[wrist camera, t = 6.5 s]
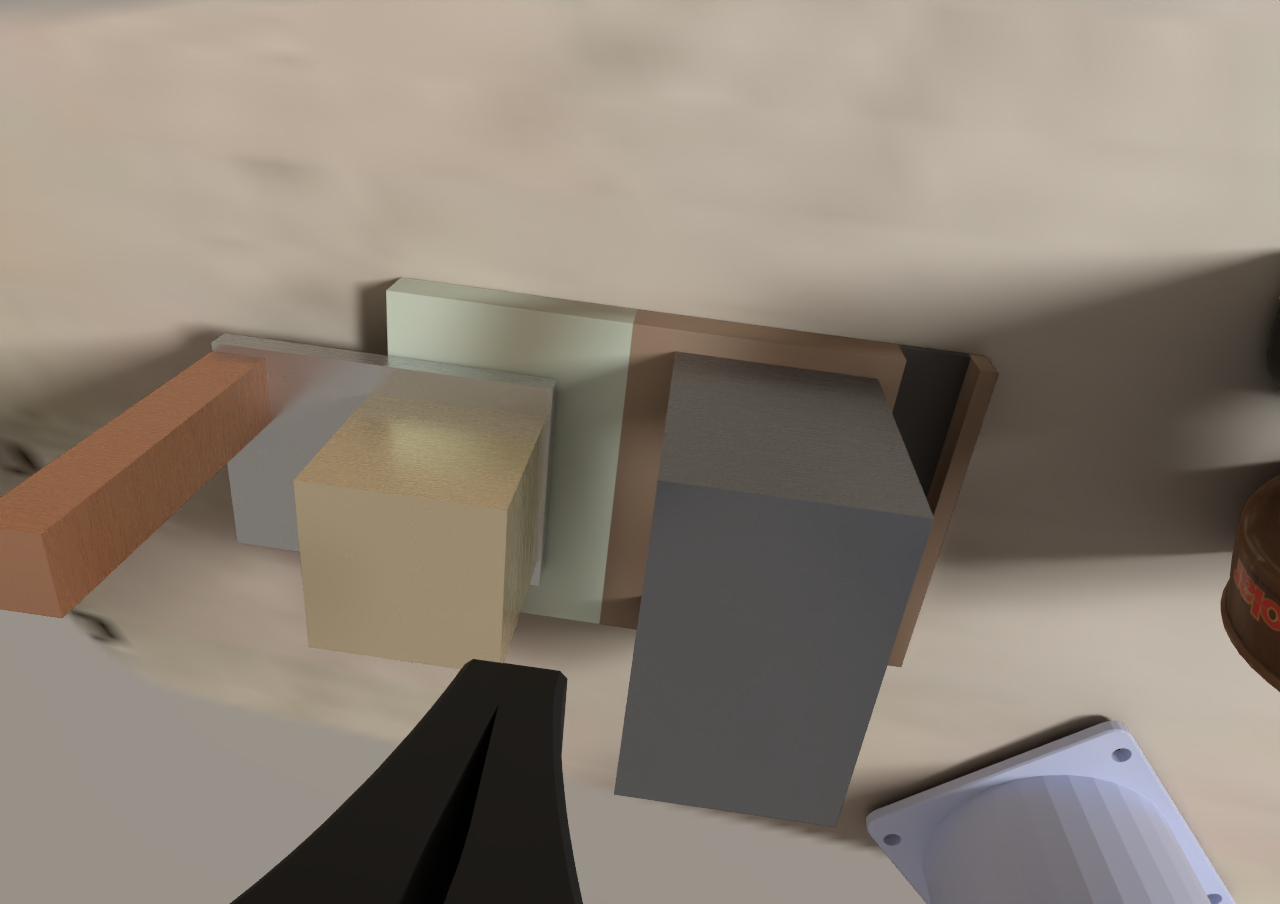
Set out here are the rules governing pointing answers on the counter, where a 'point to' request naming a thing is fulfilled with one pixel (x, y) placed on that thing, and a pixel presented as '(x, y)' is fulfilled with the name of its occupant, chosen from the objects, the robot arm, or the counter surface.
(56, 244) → the counter surface
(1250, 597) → the tin
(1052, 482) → the counter surface
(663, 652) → the grey box
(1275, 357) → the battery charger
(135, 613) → the counter surface
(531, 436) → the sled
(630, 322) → the track board
